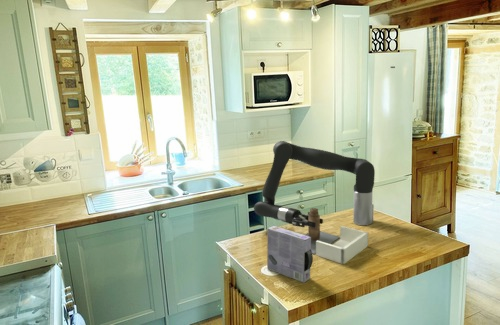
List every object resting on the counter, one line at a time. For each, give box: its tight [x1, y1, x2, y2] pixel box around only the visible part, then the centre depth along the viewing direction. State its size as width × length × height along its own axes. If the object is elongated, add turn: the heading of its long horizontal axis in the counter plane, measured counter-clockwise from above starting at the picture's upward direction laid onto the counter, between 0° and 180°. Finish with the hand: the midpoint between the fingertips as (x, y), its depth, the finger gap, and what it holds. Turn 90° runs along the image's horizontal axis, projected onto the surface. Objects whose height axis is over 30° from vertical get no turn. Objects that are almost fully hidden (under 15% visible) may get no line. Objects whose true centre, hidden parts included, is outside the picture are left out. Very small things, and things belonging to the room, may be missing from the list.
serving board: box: [305, 230, 340, 256], centre depth 173 cm, size 22×14×1 cm, turn 137°
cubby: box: [315, 225, 369, 265], centre depth 163 cm, size 21×13×7 cm, turn 137°
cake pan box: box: [266, 225, 314, 284], centre depth 145 cm, size 19×5×18 cm, turn 48°
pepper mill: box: [307, 207, 321, 240], centre depth 171 cm, size 5×5×14 cm
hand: (318, 223), depth 169 cm, fingers closed on pepper mill, 5 cm apart
